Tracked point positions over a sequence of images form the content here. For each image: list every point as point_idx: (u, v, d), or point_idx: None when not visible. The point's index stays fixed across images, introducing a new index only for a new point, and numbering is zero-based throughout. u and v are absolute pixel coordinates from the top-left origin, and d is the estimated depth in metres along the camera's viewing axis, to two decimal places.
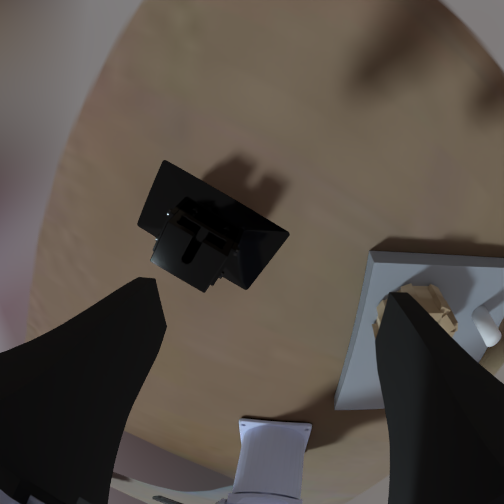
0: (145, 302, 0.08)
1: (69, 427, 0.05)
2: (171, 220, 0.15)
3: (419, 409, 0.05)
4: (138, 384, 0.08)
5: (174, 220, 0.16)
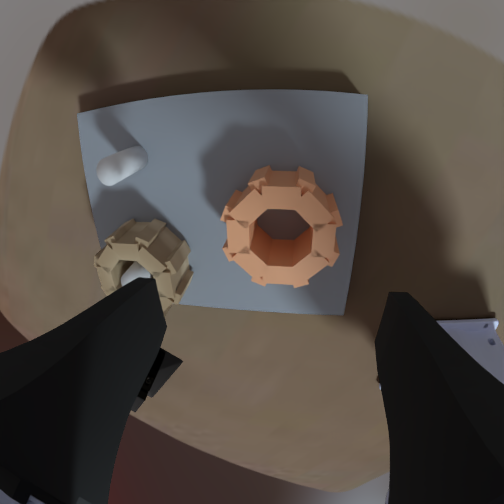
0: (145, 302, 0.08)
1: (69, 427, 0.05)
2: None
3: (419, 409, 0.05)
4: (138, 384, 0.08)
5: None
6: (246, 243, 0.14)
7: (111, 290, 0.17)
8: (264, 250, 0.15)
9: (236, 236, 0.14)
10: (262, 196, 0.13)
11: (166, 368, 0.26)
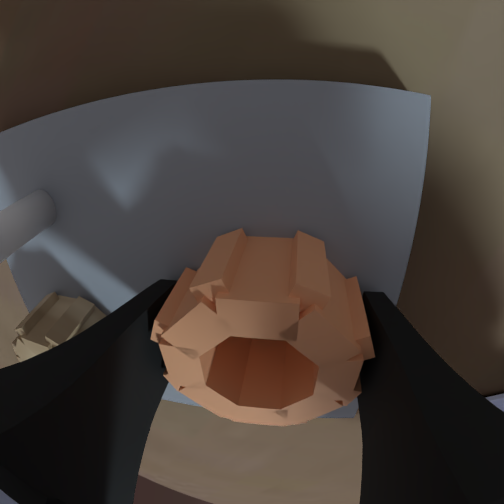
0: None
1: (97, 439, 0.05)
2: None
3: (387, 412, 0.05)
4: (161, 389, 0.08)
5: None
6: (199, 378, 0.07)
7: None
8: (235, 372, 0.08)
9: (180, 367, 0.07)
10: (219, 316, 0.06)
11: None
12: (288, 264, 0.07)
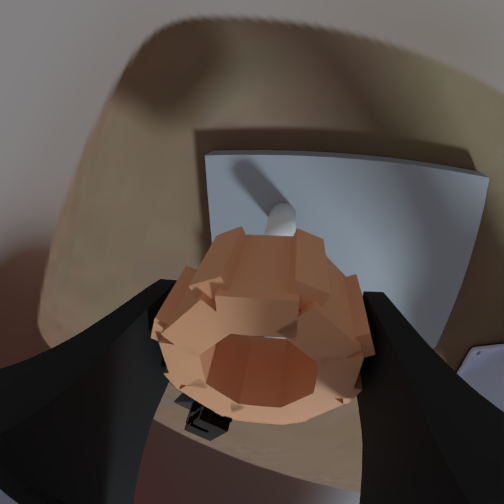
0: None
1: (97, 439, 0.05)
2: (185, 427, 0.25)
3: (387, 412, 0.05)
4: (161, 389, 0.08)
5: (186, 425, 0.25)
6: (199, 376, 0.07)
7: None
8: (235, 371, 0.08)
9: (180, 365, 0.07)
10: (219, 313, 0.06)
11: None
12: (287, 262, 0.07)
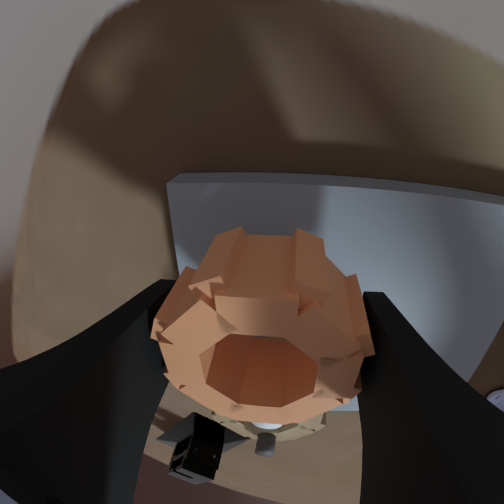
0: None
1: (97, 439, 0.05)
2: (168, 470, 0.20)
3: (387, 412, 0.05)
4: (161, 389, 0.08)
5: (169, 469, 0.21)
6: (199, 376, 0.07)
7: (230, 422, 0.13)
8: (235, 371, 0.08)
9: (180, 365, 0.07)
10: (218, 313, 0.06)
11: (232, 442, 0.22)
12: (287, 261, 0.07)
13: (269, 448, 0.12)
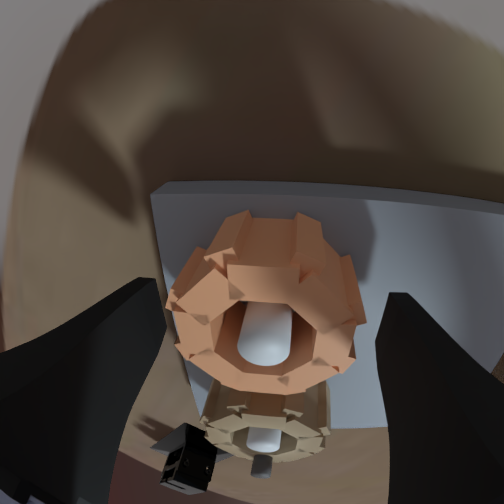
0: (145, 302, 0.08)
1: (69, 427, 0.05)
2: (160, 481, 0.19)
3: (419, 409, 0.05)
4: (138, 384, 0.08)
5: (161, 479, 0.19)
6: (208, 344, 0.08)
7: (224, 444, 0.12)
8: None
9: (192, 334, 0.08)
10: (230, 281, 0.07)
11: (226, 453, 0.21)
12: (289, 239, 0.08)
13: (266, 471, 0.11)
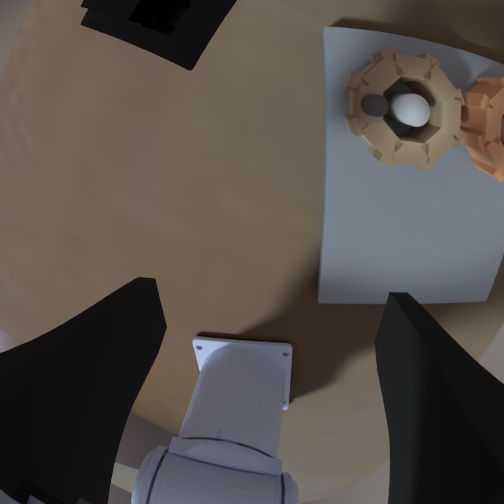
0: (145, 302, 0.08)
1: (69, 427, 0.05)
2: None
3: (419, 409, 0.05)
4: (138, 384, 0.08)
5: None
6: None
7: (396, 67, 0.10)
8: None
9: None
10: None
11: (167, 44, 0.14)
12: None
13: (386, 112, 0.10)
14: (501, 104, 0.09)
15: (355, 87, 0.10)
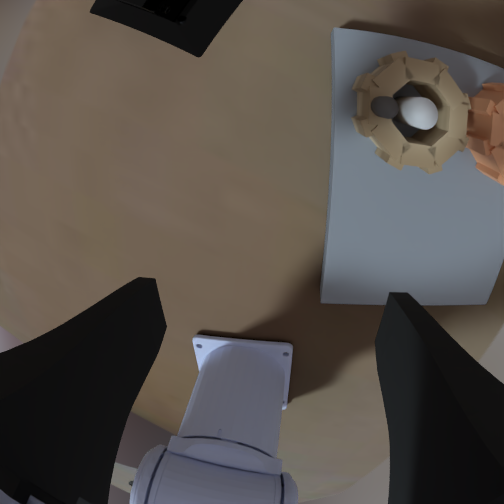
0: (145, 302, 0.08)
1: (69, 427, 0.05)
2: None
3: (419, 409, 0.05)
4: (138, 384, 0.08)
5: None
6: None
7: (406, 70, 0.10)
8: None
9: None
10: None
11: (178, 33, 0.13)
12: None
13: (395, 114, 0.10)
14: None
15: (365, 89, 0.10)
